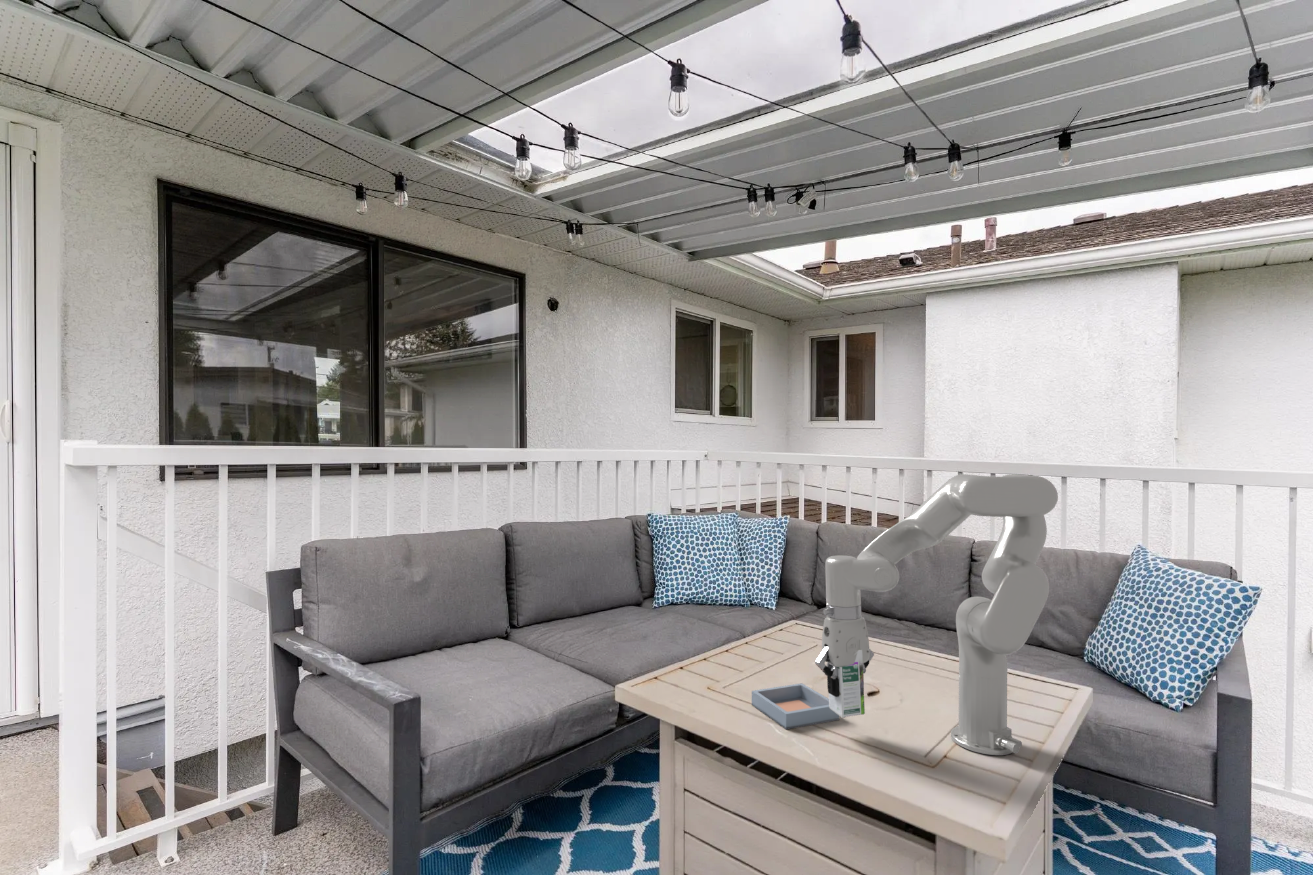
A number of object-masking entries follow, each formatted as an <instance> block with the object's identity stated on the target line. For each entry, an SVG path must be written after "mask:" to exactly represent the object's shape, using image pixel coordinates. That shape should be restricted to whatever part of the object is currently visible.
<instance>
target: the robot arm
mask: <svg viewBox="0 0 1313 875" xmlns="http://www.w3.org/2000/svg"><path fill="white" fill-rule="evenodd" d="M1058 499H1059V492H1058V490H1057V488H1056V486H1055V485H1054V484H1053V483H1052V481H1050V480H1048V479H1047V478H1046V477H1043V476H1039V475H1028V474H1021V473H1020V474H1019V473H1018V474H1017V473H1012V474H1011V473H1010V474H1005V475H1002V476H989V475H975V474H967V473H966V474H965V473H964V474H962V473H961V474H956V475H954V476H952V477H951V478H950V479H948V480H947V481H945V483H944V484H942V485H941V486H940V487H939V488H938V489H937V490H936V491H935V492H934V493H932V495H930V496H929V497H928V498H927V499H925V501H924V502H923V503H921V504H920V506H918V507H917V508H916V509H915V510H914V511H913V512H912V513H910V514H908V516H906V517H905V518H902V520H900V521H898V522H897V523H896V524H894V525H893V526H891V527H889V528H888V529H887V530H885V531H883V532H882V533H881V534H880V535H878V536H877V537H876V538H875V539H873V541H871V542H870V543H869V544H868V545H867V546H866V547H865V548H864V549H863V550H861V552H860V553H859V554H858V555H857V557H855V556H852V555H841V554H840V555H839V554H838V555H831V556H828V557H827V558H826V559H825V564H824V566H825V567H824V570H825V573H824V574H825V599H826V600H825V601H826V606H825V607H826V608H824V609H823V610H822V614H823V615H824V616H826V617H824V620H823V627H822V637H821V652H820V654H818V657H817V658H816V659H815V661H814V664H815V666H816V667H818V668H819V669H820V670H821V671H822V672H823V674H824V676H826V677H827V682H826V683H827V686H826V687H827V692H828V694H829V693H830V694H831V695H833V696H835V697H839V679H838V678H836V677H837V674H838V667H844V666H848V665H852V664H854V662H855V659H856V656H857V653H856V652H858V650H859V649H862V657H863V684H864V685H865V678H864V674H866V672H867V668H868V666H869V665H870V662H871V661H872V659H873V657H874V656H875V653H874V652H873V651H872V650H871V648H870V640H869V633H868V628H867V622H866V619H865V617H864V616H862V599H861V598H862V595H861V592H862V591H861V590H863V591H870V592H876V593H879V592H880V593H884V592H889V591H891V590H893V589H895V588H896V586H897V585H898V584H899V581H900V571H899V569H898V567H897V566H896V565H897V564H898V563H899V562H900V561H901V560H903V559H904V558H905V557H907V556H909V555H910V554H913V553H914V552H916V551H919V550H923V549H928V548H931V547H934V546H937V545H939V544H940V543H941V542H943V541H944V540H945V539H946V538H947V537H948V536H949V535H951V533H953V532H954V531H955V530H956V529H957V528H958V527H959V526H960V525H961V524H962V523H964V521H966V520H967V519H968V518H969V517H970V516H976V517H994V518H998V517H1001V518H1002V520H1003V524H1002V529H1001V531H1000V534H999V537H998V539H997V541H996V543H995V546H994V548H993V549H992V551H991V554H990V555H989V557H988V559H987V561H986V563H985V565H984V567H983V569H982V572H981V581H982V584H983V586H984V587H985V588H986V590H988V591H989V592H990V593H991V594H993V597H992V599H990V598H988V597H984V596H971V597H968V598H965V599H964V600H963V601H962V602H961V603H960V604H959V606H958V607H957V610H956V614H955V626H956V627H955V628H956V634H957V642H958V643H957V644H958V726H957V725H956V726H955V727H953V728H952V729H950V738H951V739H952V741H953V742H955V744H957V745H958V746H960V747H962V748H964V749H966V750H969V751H971V752H975V753H978V754H981V755H982V754H983V755H989V756H1004V755H1005V756H1006V755H1010V754H1012V753H1013V754H1018V753H1019V751H1020V748H1021V747H1022V744H1023V742H1022V741H1021V740H1019V739H1017V738H1015V737H1013V736H1012V735H1013V734H1012V732H1013V731H1012V728H1010V727H1009V726H1008V658H1007V657H1008V655H1012V654H1015V653H1016V652H1018V651H1019V650H1020V649H1021V648H1023V647H1024V645H1025V644H1026V643H1027V640H1028V639H1029V637H1030V635H1031V633H1032V631H1033V629H1034V627H1035V625H1036V623H1037V621H1038V619H1039V617H1040V615H1041V613H1042V612H1043V609H1044V607H1045V605H1046V603H1047V601H1048V598H1049V594H1050V581H1049V578H1048V575H1047V574H1046V573H1045V571H1044V569H1042V568H1041V567H1040V566H1038V565H1037V564H1038V561H1039V558H1040V556H1041V553H1042V552H1043V549H1044V547H1045V546H1044V545H1045V543H1046V540H1047V533H1048V532H1047V531H1048V530H1047V522H1046V518H1045V515H1046V514H1048V513H1051V512H1052V510H1054V508H1055V507H1056V506H1057V503H1058ZM856 650H857V651H856ZM855 651H856V652H855ZM855 653H856V654H855ZM854 654H855V655H854ZM832 666H833V670H832V671H831V669H832Z"/></svg>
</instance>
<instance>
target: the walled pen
mask: <svg viewBox="0 0 1313 875" xmlns="http://www.w3.org/2000/svg"><path fill="white" fill-rule="evenodd" d="M751 706H753V707H754V708H755V709H757V710H758V711H759V712H760V713H761V714H763V715H765V716H766V717H768V718H769V719H770V720H771V721H773V722H774V723H776V724H777V725H779V726H780V727H782V729H784V730H791V729H796V728H801V727H807V726H813V725H818V724H824V723H829V722H834V721H840V716H839V715H838V714H836V713H835V712H834V711H832V710H831V709H830V708H829V697H826V696H825V695H823V694H821V693H819V691H816V690H814V689H812V688H811V687H809V686H807V685H806V684H804V683H803V682H802V683H794V684H787V685H781V686H774V687H768V688H762V689H761V688H760V689H755V690H751Z"/></svg>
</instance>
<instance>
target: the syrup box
mask: <svg viewBox="0 0 1313 875" xmlns="http://www.w3.org/2000/svg"><path fill="white" fill-rule="evenodd" d="M856 651H857V650H856ZM856 651H855V652H856ZM856 653H857V656H856V659H855V662H854V664H852V665H848V666H844V667H838V674H837V677H836V678H838V679H839V697H835V696H833V695H831V694H830V693H828V699H829V708H830V709H831V710H832V711H834V712H835V713H836V714H838V715H839V717H841V718H847V717H853V716H854V717H855V716H861V715H862V716H863V715H865V714H866V711H865V710H866V709H865V686H864V685H865V683H864V684H863V675H864V673H863V657H862V649H859V650H858V652H856ZM856 653H855V654H856ZM855 654H854V655H855ZM832 670H833V666H832V669H831V671H832Z"/></svg>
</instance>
